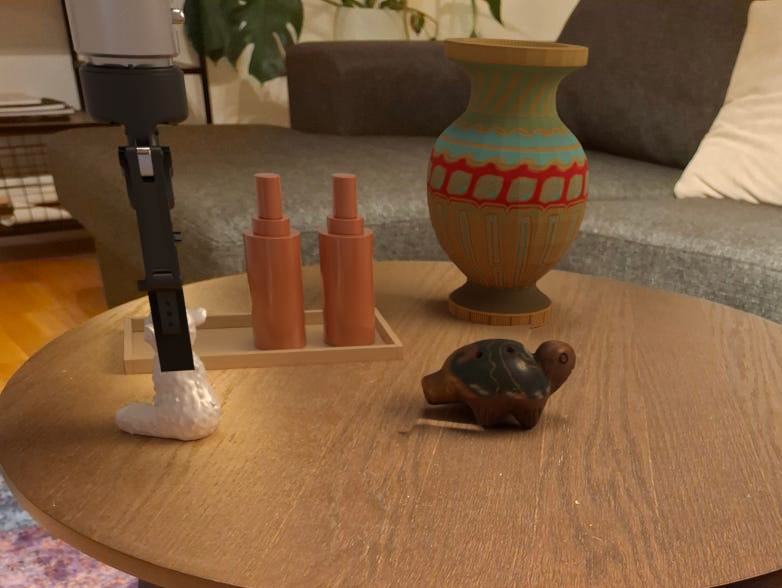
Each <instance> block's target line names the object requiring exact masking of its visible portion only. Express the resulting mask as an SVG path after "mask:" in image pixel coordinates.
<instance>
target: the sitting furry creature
mask: <svg viewBox="0 0 782 588" xmlns="http://www.w3.org/2000/svg"><path fill="white" fill-rule="evenodd" d="M186 312H187V319H188V326H189V333H190V340H191V346H193V344H194V340H195V339H196V328H195V327H196V326H198V325H200V324H203V323H204V322H205V319H206V314H207V310H206V309H205V307H195V308H192V309H188V307H187V306H186ZM144 325H145V329H144V335H143V340H144V341H145V342H147V343H148V344H150V345H151V346H152V348H153V349H154V351H155V352H156V353H157V354H155V355H154V357H153V358H154V366H153V367H152V370H153V372H154V373H152V375H151V380H152V383H153V390H154V392H155V394H154V395H153V398H152V399H153V403H154V404H153V405H152V404H151V405H149V404H148V403H146V402H142V403H135V402H130V403H128V404H127V405H125V406H123V407H120V408H119V409H118V410H116V411H115V417H114V418H115V423H116V425H117V427H118V428H119V429H120V430H122V431H123V432H126V433H129V434H130V435H141V436H147V437H156V438H164V439H174V440H179V441H195V440H200V439H203V438H206V437H209V436H210V435H212V434H213V433H214V432H215V431H216V430H217V429H218V428H219V427H220V426H221V421H222V418H221V415H223V411H222V403H221V402H220V400H219V398H218V397H217V395H216V392H215V389H214V388H213V387H211V384H210V381H209V380H208V370H206V369H205V367H204V365H203V362H202V361H201V360H200V357H198V356H197V355H196V354H195V353H194V351H192V353H193V360H194V367H195V370H189V371H172V372H161V369H160V363H159V357H158V351H157V345H156V339H155V333H154V328H153V322H152V316H151V310H150V311H149V314H147V317H146V318H145V320H144Z"/></svg>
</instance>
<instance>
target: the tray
mask: <svg viewBox="0 0 782 588" xmlns="http://www.w3.org/2000/svg"><path fill="white" fill-rule="evenodd" d="M147 316H148V315H147ZM147 316H124V317H123V356H122V357H123V358H122V359H123V367H124V372H125V375H126V376H128V375H144V374H154V372H153V370H152V367H153V366H154V358H153V357H154V355H155V354H157V353H156V352H155V351H154V349H153V348H152V346H151V345H150V344H148V343H147V342H145V341H144V340H143V335H144V329H145V325H144V320H145V318H146V317H147ZM305 320H306V336H307V345H306V346H305V347H304V348H302V349H288V350H268V351H264V350H261V349H258V348H257V347H255V346H254V341H253V331H252V320H251V312H228V313H227V312H226V313H206V319H205V322H204V323H203V324H200V325H198V326H196V327H195V328H196V339H195V340H194V344H193V346H192V351H194V353H195V354H196V355H197V356H198V357H200V360H201V361H202V362H203V365H204V367H205V369H206V370H207V371H221V370H238V369H255V368H256V369H257V368H275V367H276V368H277V367H278V368H279V367H296V366H297V367H298V366H312V365H315V366H316V365H332V364H351V363H352V364H353V363H368V362H387V361H388V362H389V361H404V355H405V354H404V351H405V350H404V345H403V343H402V342H401V341H400V339H399V338H398V336H397V335H396V333H395V331H394V330H393V329H392V328H391V326H390V325H389V324H388V322H387V321H386V319H385V318H384V316H383V315H382V313H381V312H380V311H379V310H378V308H377V307H375V342H374V343H373V344H372V345H370V346H350V347H333V346H330V345H328V344H326V343H325V342H324V337H323V318H322V309H308V310H306V309H305Z"/></svg>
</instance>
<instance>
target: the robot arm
mask: <svg viewBox="0 0 782 588" xmlns="http://www.w3.org/2000/svg"><path fill="white" fill-rule="evenodd" d="M64 3H65V9H66V14H67V19H68V24H69V25H68V26H69V29H70V35H71V40H72V45H73V46H72V47H73V50H74V51H75V52H76V53H77V54H78V55H81V56H83V57H84V62H82V63H81V64H80V67H79V68H78V73H79V78H80V84H81V89H82V90H81V91H82V94H83V100H84V105H85V111H86V114H87V116H88V118H90V119H91V120H93V121H94V122H97V123H100V124H105V125H122V126H124V134H125V137H126V144H127V145H118V146H117V149H118V150H117V155H118V163H119V167H120V172H121V175H122V177H124V180H125V187H126V193H127V199H128V203H129V207H130V208H131V209H132V210H134V211H135V215H136V222H137V228H138V235H139V241H140V246H141V253H142V260H143V267H144V274H145V275H144V276H145V277H144V279H137V280H136V284H137V291H138V293H147V297H148V305H149V309H150V311H151V316H152V322H153V328H154V333H155V339H156V345H157V351H158V357H159V363H160V369H161V372H172V371H189V370H195V367H194V360H193V353H192V346H191V340H190V333H189V326H188V319H187V312H186V307H187V305H186V300H185V292H184V285H183V277H182V275H181V270H180V262H179V256H178V250H177V245H183V236H182V231H181V230H173V229H174V225H173V224H174V223H173V221H172V216H171V210H173V209H174V208H175V206H176V200H175V194H174V187H173V181H172V178H173V176H174V173H175V172H174V165H173V159H172V152H171V148H170V145H160V141H159V135H160V131H159V127H158V125H166V126H169V125H176V124H181V123H184V122H185V121H187V119H188V118H189V116H190V115H189V113H190V111H189V103H188V97H187V96H188V95H187V89H186V81H185V74H184V70H182V69H181V66H180V65H177V64H174V60H173V59H174V58H177V57H178V56H179V55H180V54H181V47H180V41H179V34H178V30H176V28H175V27H174V26H173V25H184V23H185V22H186V16H185V13H184V11H183V9H182V8H176V7H175V8H174V7H171V6H172V4H173V3H174V0H64Z"/></svg>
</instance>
